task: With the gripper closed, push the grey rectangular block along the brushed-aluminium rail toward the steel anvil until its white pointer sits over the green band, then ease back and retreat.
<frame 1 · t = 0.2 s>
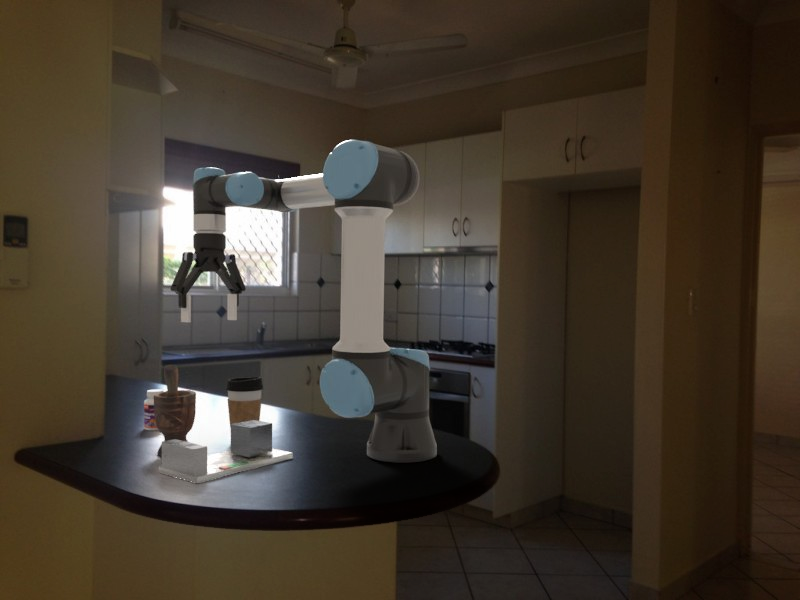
hand: (209, 321, 167), 28 cm above the table, fingers open, 13 cm apart
mortar and pestle: (176, 456, 147), on the table
coffee cup: (244, 442, 160), on the table
pill bottle: (155, 429, 174), on the table
grey rectangular block: (255, 438, 143), point 5 cm above the table, slide at 0.0 cm
gauge base: (228, 465, 139), on the table
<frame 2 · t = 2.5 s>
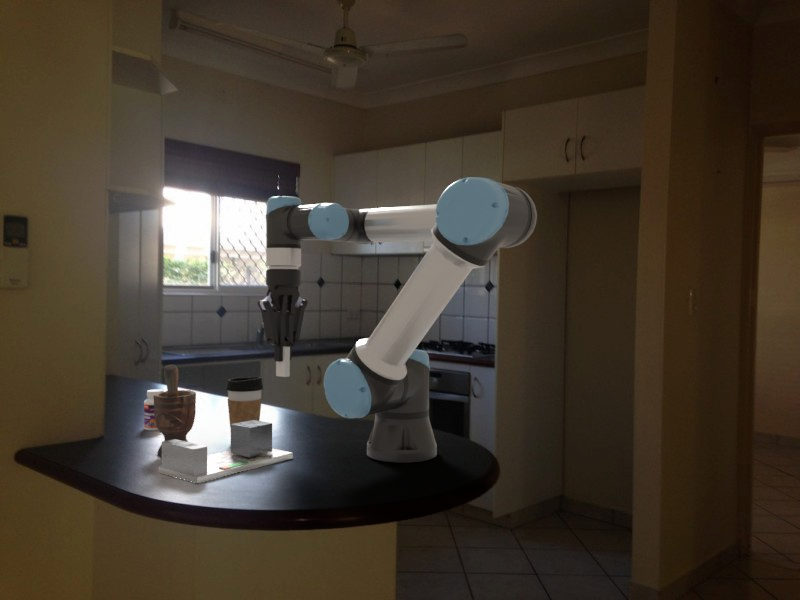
hand: (282, 376, 151), 17 cm above the table, fingers closed
nothing on the table moved.
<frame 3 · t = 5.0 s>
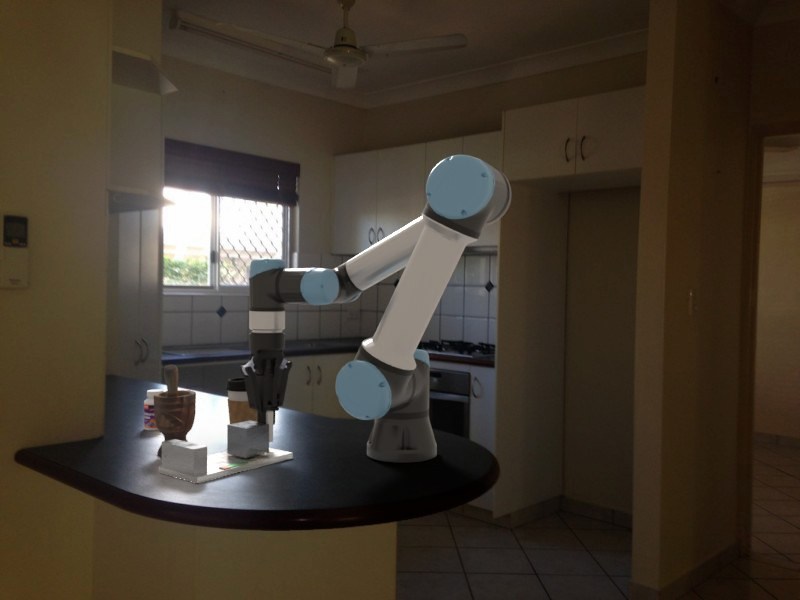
hand: (266, 441, 148), 3 cm above the table, fingers closed
grey rectangular block: (252, 439, 143), point 4 cm above the table, slide at 0.9 cm, touching gripper
everything else where it was.
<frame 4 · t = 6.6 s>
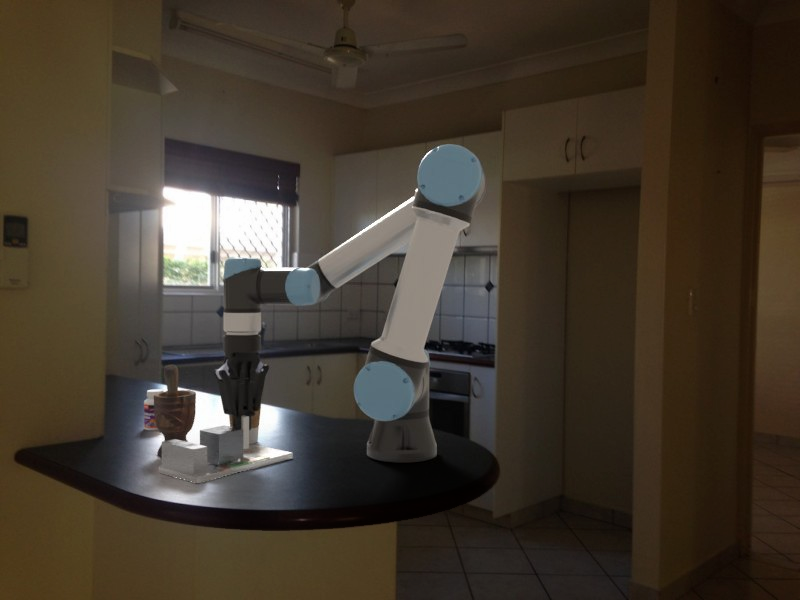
hand: (241, 447, 142), 3 cm above the table, fingers closed
grey rectangular block: (225, 445, 137), point 4 cm above the table, slide at 7.7 cm, touching gripper
everything else where it was.
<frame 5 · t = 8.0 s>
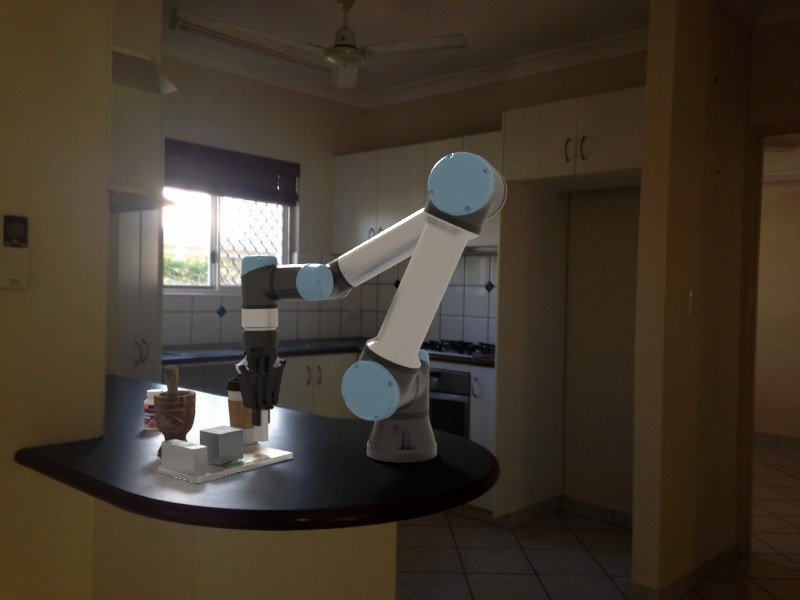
hand: (261, 440, 146), 4 cm above the table, fingers closed
grey rectangular block: (225, 445, 137), point 4 cm above the table, slide at 7.7 cm
everything else where it was.
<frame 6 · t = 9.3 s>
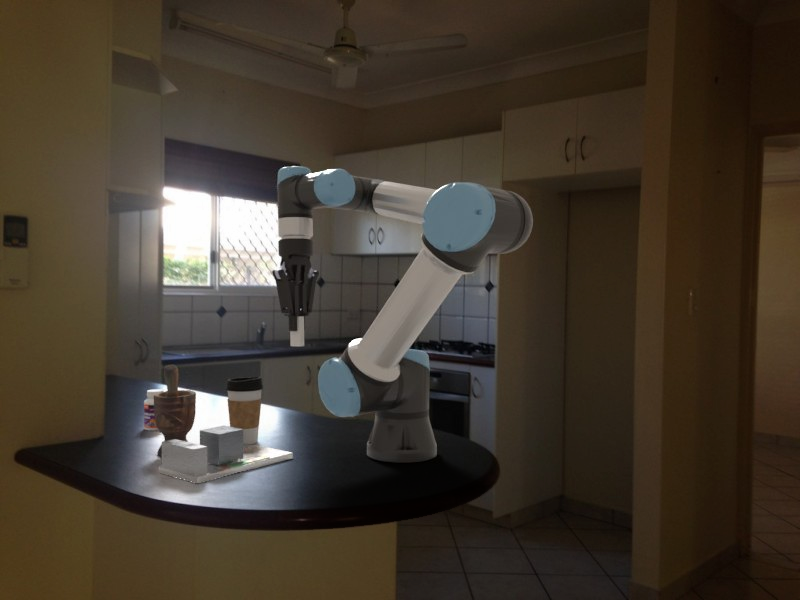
hand: (297, 346, 152), 23 cm above the table, fingers closed
nothing on the table moved.
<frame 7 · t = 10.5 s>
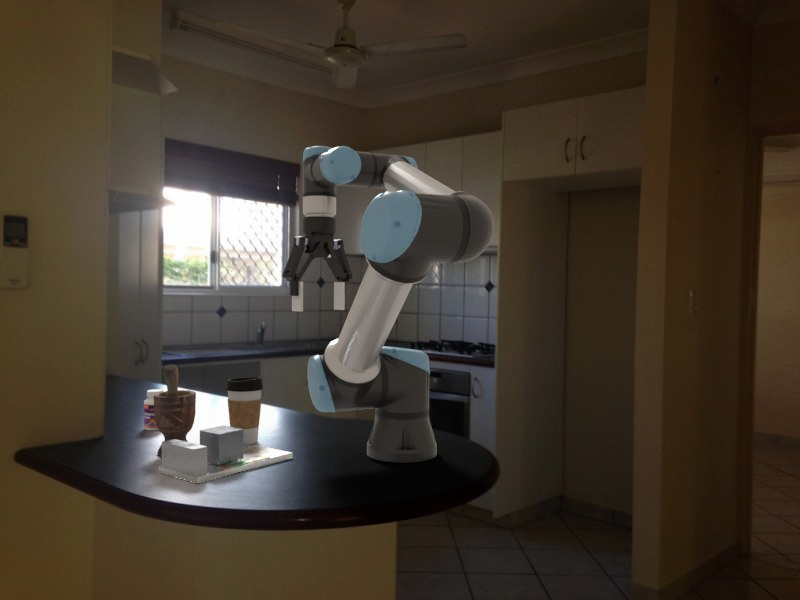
hand: (319, 310, 157), 31 cm above the table, fingers open, 13 cm apart
nothing on the table moved.
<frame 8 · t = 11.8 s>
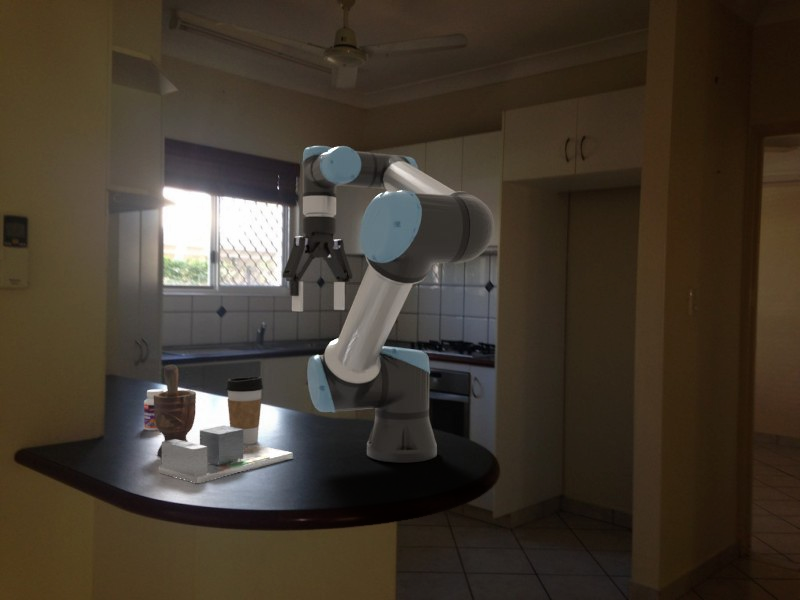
hand: (319, 310, 157), 31 cm above the table, fingers open, 13 cm apart
nothing on the table moved.
at the end: grey rectangular block slide at 7.7 cm; grey rectangular block touching nothing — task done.
